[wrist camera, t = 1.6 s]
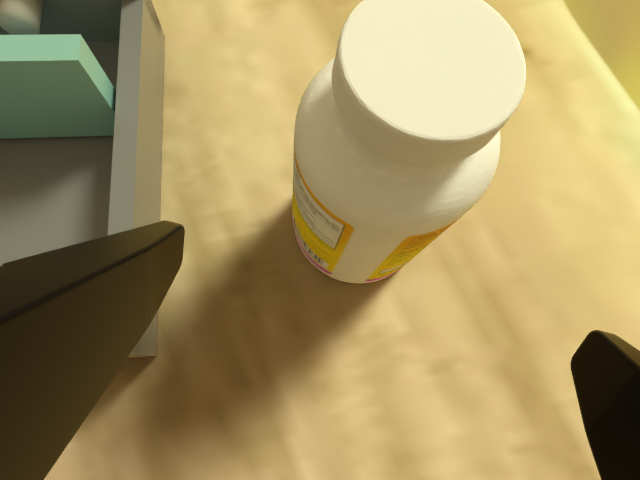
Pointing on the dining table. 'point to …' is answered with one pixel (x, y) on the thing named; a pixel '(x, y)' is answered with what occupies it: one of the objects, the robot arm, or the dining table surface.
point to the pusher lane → (89, 138)
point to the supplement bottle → (401, 131)
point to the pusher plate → (53, 88)
